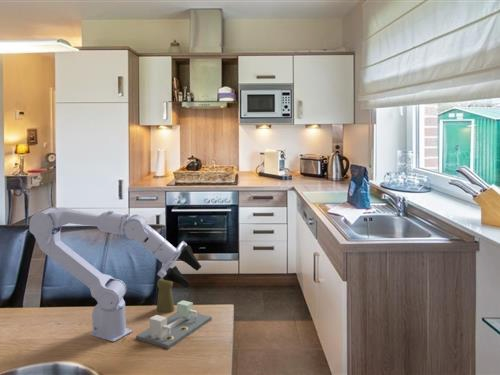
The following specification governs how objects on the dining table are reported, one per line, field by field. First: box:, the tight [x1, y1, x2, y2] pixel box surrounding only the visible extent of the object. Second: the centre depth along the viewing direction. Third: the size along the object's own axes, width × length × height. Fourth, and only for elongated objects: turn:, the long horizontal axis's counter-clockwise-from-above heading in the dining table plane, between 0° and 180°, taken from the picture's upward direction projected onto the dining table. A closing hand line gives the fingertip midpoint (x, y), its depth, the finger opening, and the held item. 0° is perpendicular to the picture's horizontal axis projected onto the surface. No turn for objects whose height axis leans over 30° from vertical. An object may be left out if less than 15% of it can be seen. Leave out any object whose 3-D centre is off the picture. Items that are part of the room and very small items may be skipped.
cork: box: [156, 277, 175, 314], centre depth 154 cm, size 6×6×11 cm
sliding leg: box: [176, 299, 198, 320], centre depth 144 cm, size 6×3×5 cm, turn 62°
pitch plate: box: [135, 311, 212, 350], centre depth 140 cm, size 12×22×6 cm, turn 152°
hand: (194, 276), depth 135 cm, fingers open, 7 cm apart
